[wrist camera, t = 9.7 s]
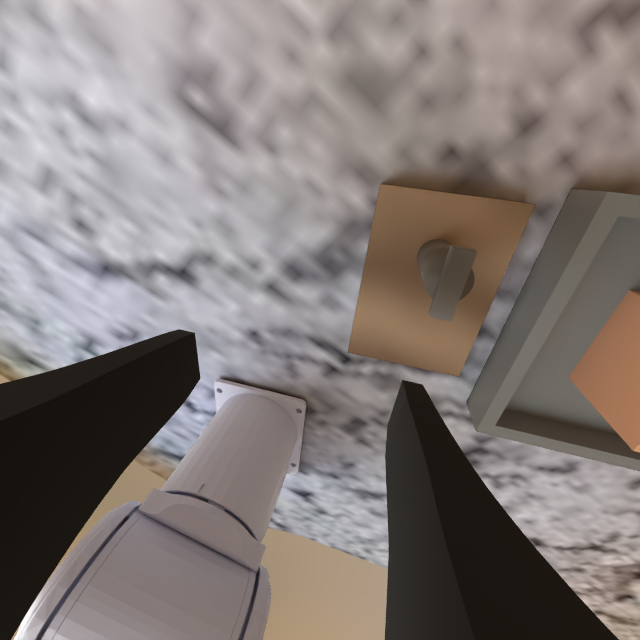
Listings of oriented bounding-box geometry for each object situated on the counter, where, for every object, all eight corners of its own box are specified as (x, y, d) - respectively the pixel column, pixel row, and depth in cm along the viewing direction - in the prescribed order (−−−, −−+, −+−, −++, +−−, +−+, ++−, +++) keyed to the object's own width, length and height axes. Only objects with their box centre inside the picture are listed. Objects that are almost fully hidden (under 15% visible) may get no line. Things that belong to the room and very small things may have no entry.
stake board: (454, 365, 18) (479, 436, 13) (350, 342, 19) (335, 401, 14) (524, 202, 14) (603, 217, 9) (380, 183, 15) (375, 187, 10)
